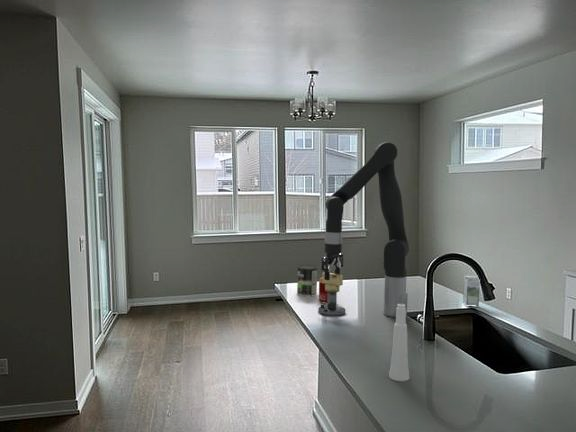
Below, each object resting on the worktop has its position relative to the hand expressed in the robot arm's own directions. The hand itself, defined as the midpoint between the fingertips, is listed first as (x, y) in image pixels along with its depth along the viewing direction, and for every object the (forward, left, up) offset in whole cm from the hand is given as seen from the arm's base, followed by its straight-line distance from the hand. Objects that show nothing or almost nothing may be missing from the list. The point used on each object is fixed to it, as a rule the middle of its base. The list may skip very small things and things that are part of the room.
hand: (332, 278), depth 205 cm
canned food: (+12, -15, -15) cm, 24 cm away
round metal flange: (0, 0, -15) cm, 15 cm away
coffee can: (+28, -21, -15) cm, 38 cm away
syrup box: (-45, -52, -15) cm, 70 cm away
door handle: (+1, 0, -5) cm, 5 cm away
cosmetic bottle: (-52, +46, -15) cm, 71 cm away
